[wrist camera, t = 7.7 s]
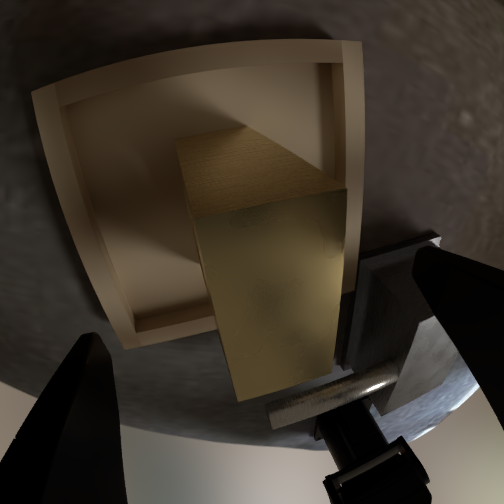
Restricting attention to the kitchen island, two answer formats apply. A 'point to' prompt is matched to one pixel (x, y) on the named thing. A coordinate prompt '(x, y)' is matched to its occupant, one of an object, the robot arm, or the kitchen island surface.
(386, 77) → the kitchen island surface
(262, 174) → the wooden block
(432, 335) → the vise block
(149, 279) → the tray
